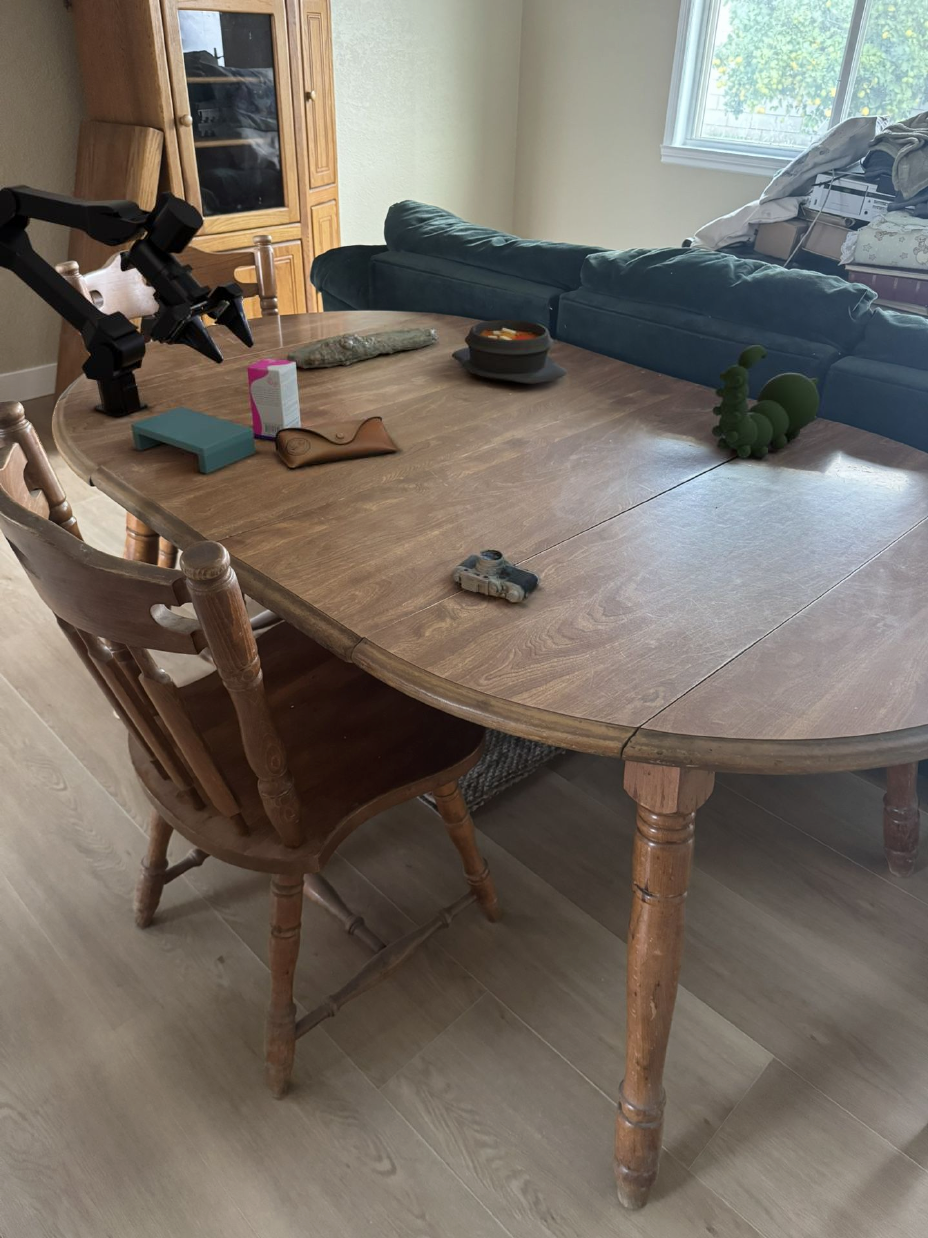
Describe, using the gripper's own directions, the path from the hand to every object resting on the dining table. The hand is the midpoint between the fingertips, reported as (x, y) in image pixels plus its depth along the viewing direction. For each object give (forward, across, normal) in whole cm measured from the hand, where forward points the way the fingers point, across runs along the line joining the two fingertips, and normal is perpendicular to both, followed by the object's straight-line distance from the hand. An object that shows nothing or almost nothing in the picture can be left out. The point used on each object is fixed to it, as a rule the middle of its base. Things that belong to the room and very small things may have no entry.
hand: (237, 353), depth 143 cm
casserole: (+31, -45, +14) cm, 56 cm away
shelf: (+7, +11, -10) cm, 17 cm away
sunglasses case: (+22, +4, +4) cm, 23 cm away
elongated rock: (+10, -45, -8) cm, 47 cm away
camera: (+47, +34, +29) cm, 65 cm away
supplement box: (+13, 0, -5) cm, 14 cm away
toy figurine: (+66, -24, +48) cm, 85 cm away
